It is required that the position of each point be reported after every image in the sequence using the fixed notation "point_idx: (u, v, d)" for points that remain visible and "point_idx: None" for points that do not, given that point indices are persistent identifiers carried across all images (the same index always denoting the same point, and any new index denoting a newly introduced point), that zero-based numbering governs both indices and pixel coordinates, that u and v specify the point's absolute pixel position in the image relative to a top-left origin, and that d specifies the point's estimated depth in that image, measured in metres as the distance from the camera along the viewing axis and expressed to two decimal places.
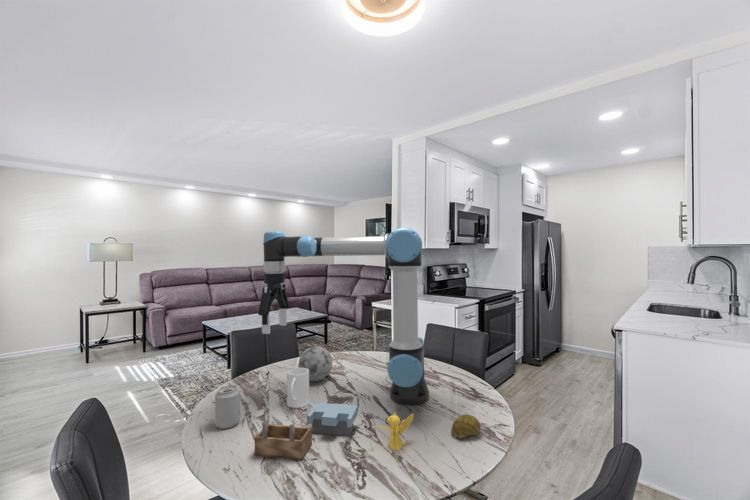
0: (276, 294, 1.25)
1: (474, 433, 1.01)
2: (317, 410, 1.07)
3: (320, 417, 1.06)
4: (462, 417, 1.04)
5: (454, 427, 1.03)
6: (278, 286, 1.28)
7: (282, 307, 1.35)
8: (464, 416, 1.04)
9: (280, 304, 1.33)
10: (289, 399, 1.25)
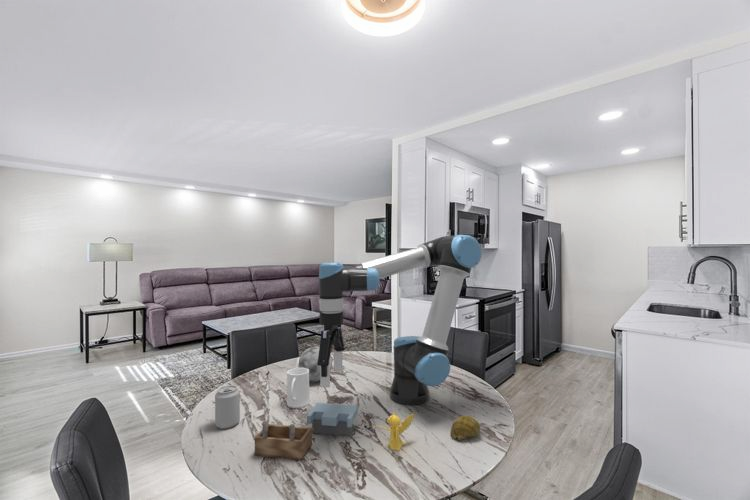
0: (335, 338, 1.05)
1: (473, 434, 1.01)
2: (317, 410, 1.07)
3: (320, 417, 1.06)
4: (461, 418, 1.03)
5: (453, 428, 1.03)
6: (335, 327, 1.08)
7: (337, 349, 1.15)
8: (463, 417, 1.04)
9: (335, 346, 1.13)
10: (289, 399, 1.25)
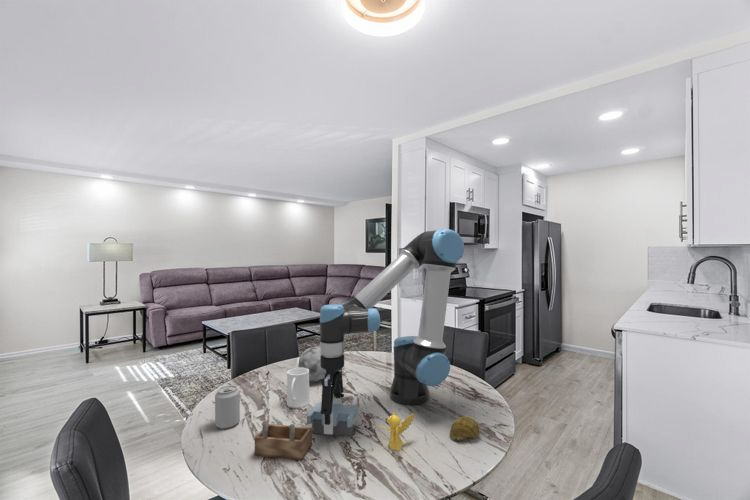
0: (336, 381, 1.06)
1: (472, 435, 1.00)
2: (317, 410, 1.07)
3: (320, 417, 1.06)
4: (461, 419, 1.03)
5: (452, 429, 1.02)
6: None
7: (336, 396, 1.12)
8: (463, 418, 1.03)
9: (335, 392, 1.12)
10: (289, 399, 1.25)
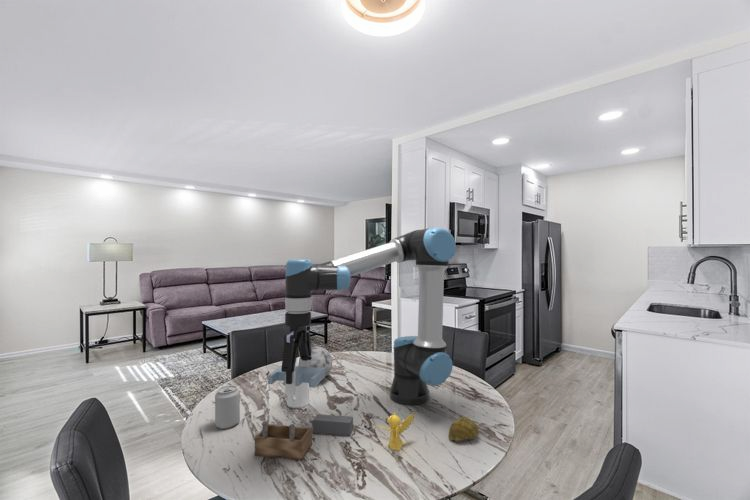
0: (301, 340, 0.99)
1: (471, 437, 0.99)
2: (280, 371, 1.01)
3: (283, 378, 1.00)
4: (460, 420, 1.02)
5: (451, 430, 1.02)
6: (303, 327, 1.02)
7: (303, 358, 1.06)
8: (462, 419, 1.02)
9: (301, 353, 1.05)
10: (289, 399, 1.25)
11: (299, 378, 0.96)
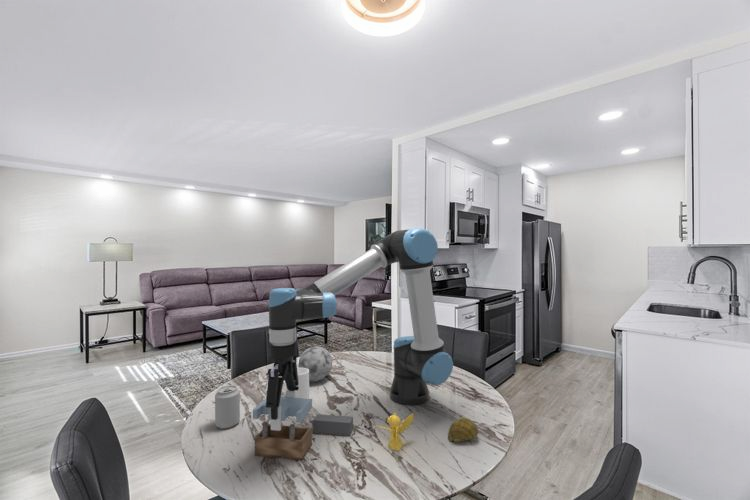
0: (286, 372, 0.96)
1: (470, 438, 0.99)
2: None
3: (269, 411, 0.97)
4: (459, 420, 1.02)
5: (450, 430, 1.01)
6: (288, 358, 0.98)
7: (290, 389, 1.03)
8: (461, 420, 1.02)
9: (288, 384, 1.02)
10: None
11: (285, 412, 0.93)
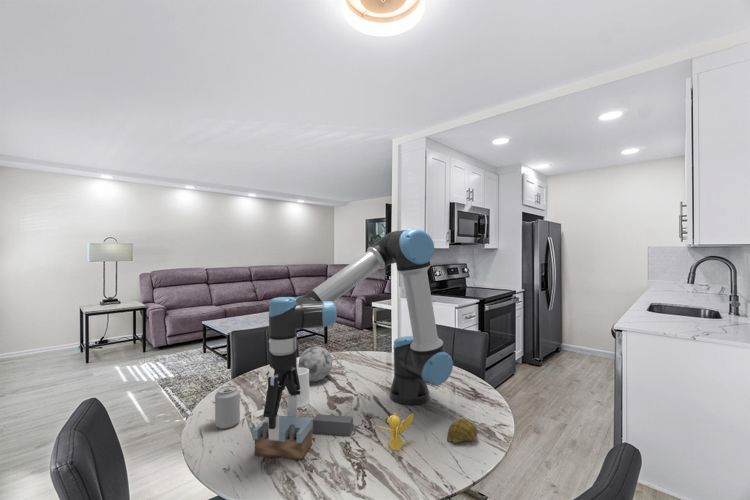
0: (286, 382, 0.95)
1: (469, 438, 0.99)
2: None
3: None
4: (458, 421, 1.02)
5: (449, 431, 1.01)
6: (288, 368, 0.98)
7: (292, 393, 1.04)
8: (460, 420, 1.02)
9: (289, 390, 1.03)
10: None
11: (285, 433, 0.93)
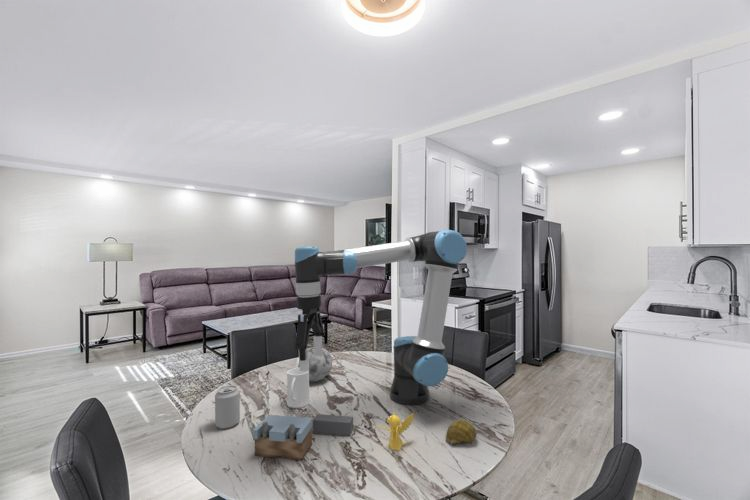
0: (313, 321, 1.05)
1: (468, 440, 0.98)
2: None
3: None
4: (457, 422, 1.01)
5: (448, 431, 1.01)
6: (313, 311, 1.08)
7: (317, 334, 1.14)
8: (459, 421, 1.01)
9: (315, 331, 1.13)
10: (289, 399, 1.25)
11: (285, 433, 0.93)
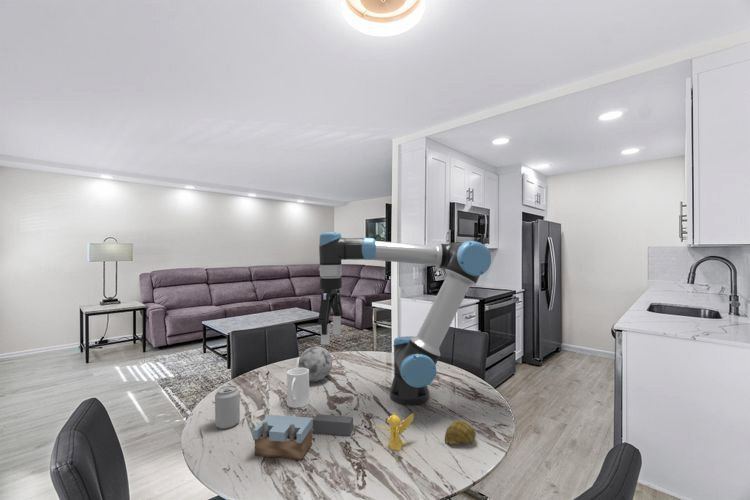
0: (334, 301, 1.15)
1: (466, 441, 0.97)
2: None
3: None
4: (456, 423, 1.01)
5: (447, 432, 1.00)
6: (334, 292, 1.18)
7: (336, 314, 1.24)
8: (458, 422, 1.01)
9: (334, 311, 1.23)
10: (289, 399, 1.25)
11: (285, 433, 0.93)
